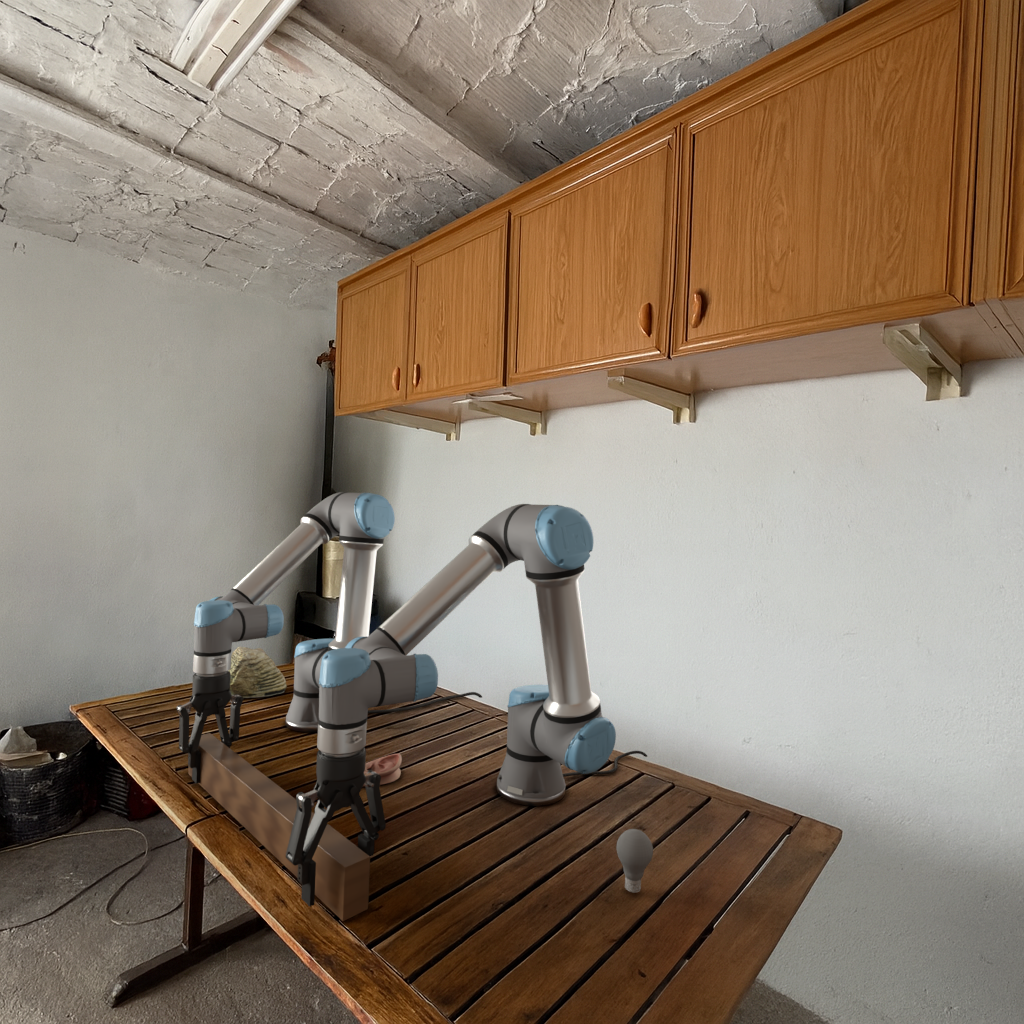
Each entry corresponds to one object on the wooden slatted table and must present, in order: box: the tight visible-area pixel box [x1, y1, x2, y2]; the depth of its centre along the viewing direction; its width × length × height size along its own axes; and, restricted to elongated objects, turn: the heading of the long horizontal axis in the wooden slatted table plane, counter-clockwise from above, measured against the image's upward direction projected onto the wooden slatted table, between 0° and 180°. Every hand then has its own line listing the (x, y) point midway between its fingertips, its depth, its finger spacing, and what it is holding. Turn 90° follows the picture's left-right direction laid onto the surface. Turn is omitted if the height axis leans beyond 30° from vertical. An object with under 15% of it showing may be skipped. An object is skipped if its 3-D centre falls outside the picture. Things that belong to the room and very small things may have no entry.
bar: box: [187, 732, 371, 922], centre depth 120 cm, size 66×4×8 cm, turn 45°
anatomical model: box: [363, 753, 403, 787], centre depth 144 cm, size 13×4×12 cm
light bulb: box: [615, 828, 654, 894], centre depth 106 cm, size 6×6×10 cm
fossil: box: [229, 646, 288, 699], centre depth 198 cm, size 9×18×15 cm, turn 132°
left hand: (208, 777), depth 139 cm, fingers closed on bar, 4 cm apart
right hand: (336, 888), depth 101 cm, fingers open, 9 cm apart
